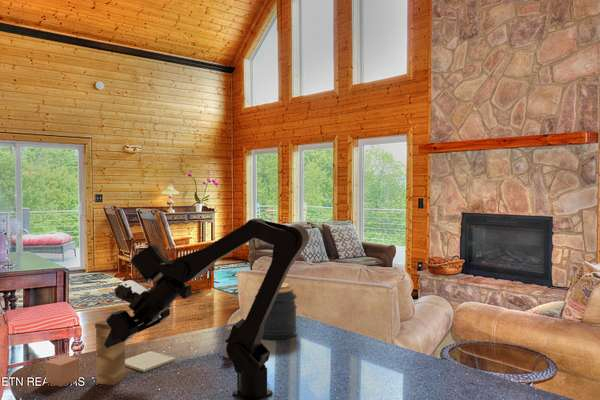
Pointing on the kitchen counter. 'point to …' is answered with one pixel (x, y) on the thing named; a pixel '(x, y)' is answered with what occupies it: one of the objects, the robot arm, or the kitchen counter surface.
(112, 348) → the brown block
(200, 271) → the robot arm
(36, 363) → the kitchen counter surface
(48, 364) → the terracotta block
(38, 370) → the kitchen counter surface
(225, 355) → the rook chess piece
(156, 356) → the pad
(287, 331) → the canister
